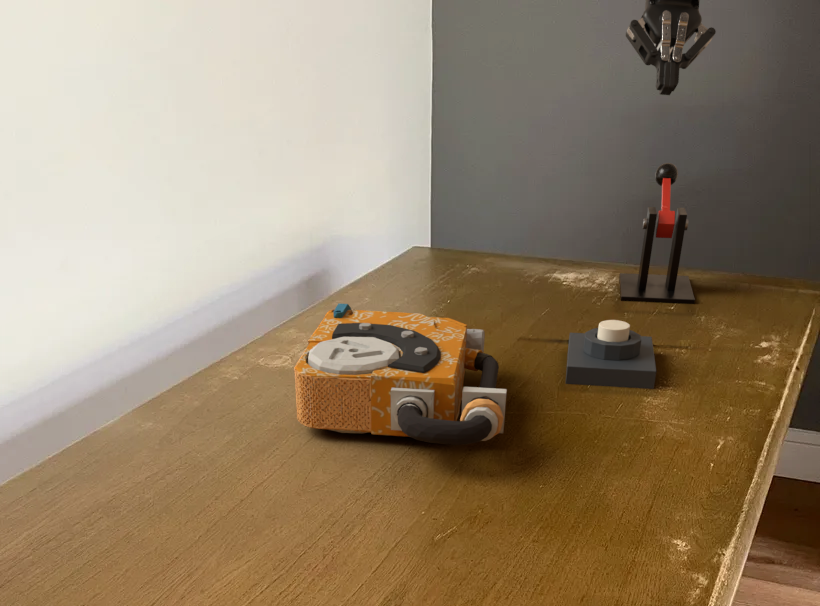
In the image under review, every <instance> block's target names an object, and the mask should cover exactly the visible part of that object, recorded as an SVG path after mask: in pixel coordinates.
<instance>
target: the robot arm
mask: <svg viewBox="0 0 820 606" xmlns="http://www.w3.org/2000/svg"><path fill="white" fill-rule="evenodd" d="M700 1H701V0H645V1H644V3H645V4H644V11H643V13H642V15H641V18H640V19H632V20H631V21H630V23H629V25H628V26H627V29H626V31H625V37H626V39H627V40H628V42H629V44H631V46H632V48H633V49H634V51H635V52H636V53H637V55H638V56H639V57H640V59H641V61H642V62H643V63H644V65H646V66H653V67H655V69H656V75H655V88H656V89H655V90H657V91H659V95H662V96H671V94H672V92H674V91H675V90H676V88H677V87H678V85H679V81H680V69H682V70H686V69H687V68H688V67H689V66H690V65H691V64H692V63H693V62H694V61H695V60H696V59H697V57H699V55H701V54H702V52H703V51H704V50H705V49H706V48H707V47H708V46H709V45H710V43H711V42H712V40H713V38H714V36H716V35H715V34H716V33H717V30H716V29H715V28H714V27H711V26H710V27H709V28H707V27H706V25H704V24H703V23H702V22H703V21H702V20H703V17H702V15H701V13H700ZM694 34H695V37H694V43H693V44H692V45H691V47H690V48H689V49H688V50H686V52H684V53H683V51H684V46H685V44H686V43H687V42H688V40H690V39H691V38H692V36H693V35H694Z"/></svg>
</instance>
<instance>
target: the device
mask: <svg viewBox="0 0 820 606" xmlns="http://www.w3.org/2000/svg"><path fill="white" fill-rule="evenodd" d="M485 333H486V332H485V330H484V329H479V328H468V324H467V323H463V322H461V321H459V320H455V319H453V318H451V317H436V316H426V315H425V314H423V313H419V312H418V313H416V312H415V313H414V312H399V311H383V310H381V311H380V310H366V309H365V310H364V309H363V310H361V309H354V311H353V310H352V307H351V306H350V304H349V303H341V302H340V303H337V305H336V306H335V308H334V309H329V310H328V311H327V312H326V313H325V315H324V317H323V319H322V320H321V321H320V323H319V324H318V326H317V328H316V329H315V330H314V331H313V333H312V334H311V336H310V337H309V339H308V340H307V346H306V348H305V349H304V351H303V353H302V354H301V356H300V357H299V359H298V360H297V362H296V363H295V366H294V367H293V370H294V371H293V372H294V385H295V386H294V387H295V404H296V420H297V421H298V422H299V423H300V424H301V425H302V426H305V427H307V428H308V429H319V430H328V431H331V432H337V433H341V434H367V433H371V435H378V436H393V437H409V438H411V439H414V440H416V441H421V442H425V443H431V444H440V445H451V446H466V445H471V444H476V443H480V442H487V441H488V440H491V439H492V438H494V437H495V436H496V435H498V434H504V429H505V418H506V417H505V416H506V405H507V404H506V403H507V392H508V389H507V388H497V382H498V375H499V369H500V365H499V362H498V361H497V360H496V358H495V357H494V356H492V355H491V354H488V353H485V352H484V351H485V338H486V337H485V335H486V334H485ZM466 370H467V371H473V372H478V371H480V372H481V377H480V381H479V386H478V387H477V386H464V380H465V374H466ZM460 409H461V415H460ZM459 417H460V419H459ZM458 419H459V420H458Z"/></svg>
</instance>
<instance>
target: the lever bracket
mask: <svg viewBox="0 0 820 606" xmlns="http://www.w3.org/2000/svg"><path fill="white" fill-rule="evenodd" d="M657 218H658V212H657V207H656V206H648V207H647V211H646V218H645V217H644V218H643V221H642V229H643V230H644V234H643V241H642V248H641V255H640V261H639V269H638V273H626V272H624V273H623V272H620V273H619V277H618V280H619V294H620V295H619V296H620V302H634V303H635V302H636V303H659V304H681V305H682V304H683V305H695V303H696V298H695V296H694V292H693V288H692V285H691V281H690V277H689V276H688V275H678V274H679V267H680V262H681V256H682V249H683V243H684V237H685V231H688V227H689V219H688V213H687V210H686V208H685V207H677V210H676V213H675V225H674V230H673V235H672V240H671V245H670V246H671V247H670V251H669V259H668V264H667V265H668V266H667V271H666V274H651V273H650V274H649V271H650V265H651V257H652V250H653V244H654V238H655V232H656V223H657Z"/></svg>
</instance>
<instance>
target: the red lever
mask: <svg viewBox="0 0 820 606" xmlns="http://www.w3.org/2000/svg"><path fill="white" fill-rule="evenodd" d="M678 177H679V171H678V168H677V166H676V165H675V164H673V163H671V162H664V163H662V164H660V165H659V166H658V167H657V169H656V170H655V173H654V179H655V182H656V184H658V185H659V186H660V187H661V204H660V210H658V212H657V218H656V224H655V238H656V239H673V233H674V227H675V221H676V211H675V210H671V193H672V191H671V188H672V185H673V184H675V183H676V181H677V180H678Z"/></svg>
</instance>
